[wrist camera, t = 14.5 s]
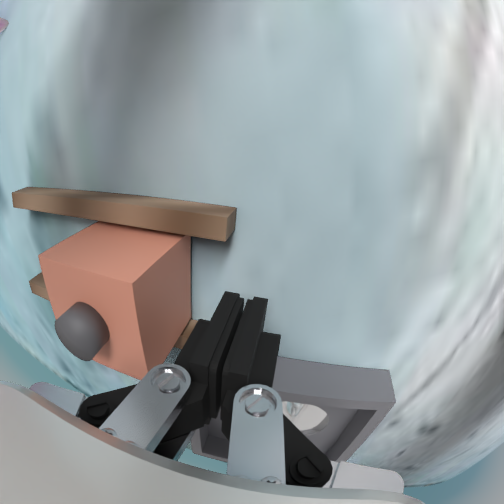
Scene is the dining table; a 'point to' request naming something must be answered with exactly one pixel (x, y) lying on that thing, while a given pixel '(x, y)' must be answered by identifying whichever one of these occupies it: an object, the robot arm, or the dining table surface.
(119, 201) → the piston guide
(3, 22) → the lily
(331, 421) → the tray
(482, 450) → the dining table surface
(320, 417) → the wineglass
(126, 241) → the piston block
